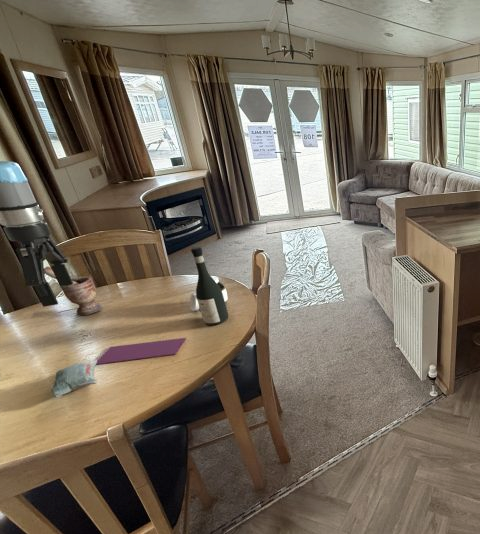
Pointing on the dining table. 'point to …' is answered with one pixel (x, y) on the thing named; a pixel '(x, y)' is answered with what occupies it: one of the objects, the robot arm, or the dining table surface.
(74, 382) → the packaged food
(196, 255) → the wine bottle
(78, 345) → the dining table surface
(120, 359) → the cloth
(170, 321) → the dining table surface
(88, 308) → the mortar and pestle
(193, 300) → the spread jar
